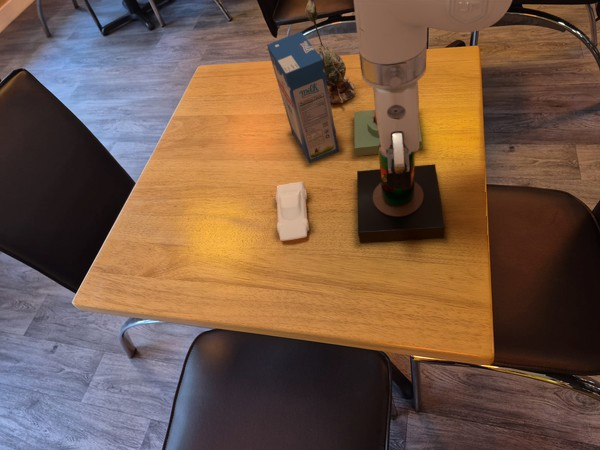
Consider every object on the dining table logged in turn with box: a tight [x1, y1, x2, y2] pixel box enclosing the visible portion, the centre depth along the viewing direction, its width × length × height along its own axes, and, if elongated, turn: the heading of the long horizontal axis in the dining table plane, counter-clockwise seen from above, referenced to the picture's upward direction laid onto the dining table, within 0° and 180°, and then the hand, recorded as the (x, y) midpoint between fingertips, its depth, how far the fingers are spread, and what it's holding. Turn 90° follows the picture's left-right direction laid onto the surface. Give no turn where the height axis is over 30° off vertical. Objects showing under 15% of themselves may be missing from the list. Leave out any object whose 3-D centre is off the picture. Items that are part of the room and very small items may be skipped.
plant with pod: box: [305, 0, 356, 105], centre depth 86 cm, size 8×11×20 cm
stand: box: [356, 163, 446, 244], centre depth 72 cm, size 13×13×3 cm
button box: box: [353, 109, 423, 157], centre depth 82 cm, size 12×10×4 cm
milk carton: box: [266, 31, 340, 164], centre depth 79 cm, size 10×6×20 cm, turn 20°
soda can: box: [378, 141, 416, 206], centre depth 66 cm, size 5×5×12 cm
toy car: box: [275, 181, 310, 242], centre depth 75 cm, size 6×12×3 cm, turn 3°
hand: (396, 161), depth 64 cm, fingers open, 9 cm apart
